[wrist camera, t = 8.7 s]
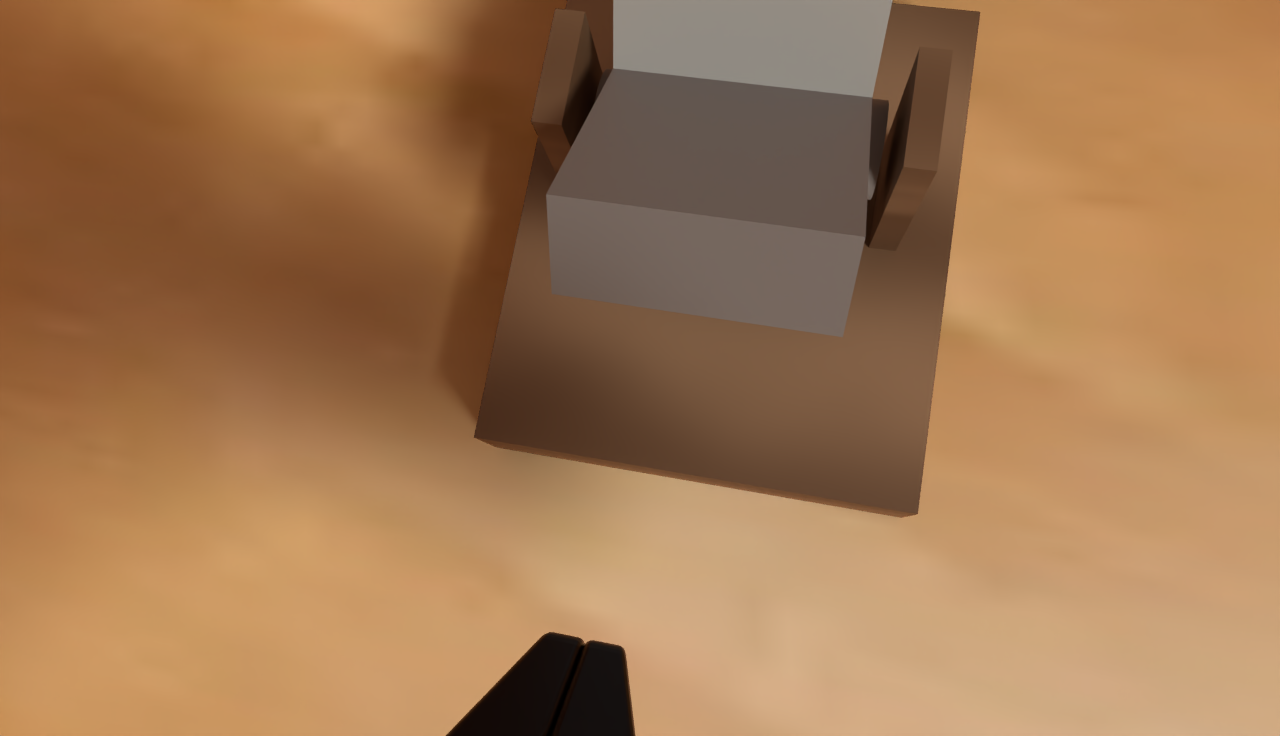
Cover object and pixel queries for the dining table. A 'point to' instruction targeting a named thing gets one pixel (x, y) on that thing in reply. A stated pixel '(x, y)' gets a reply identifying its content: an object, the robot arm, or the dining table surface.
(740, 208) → the lever
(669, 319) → the base
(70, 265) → the dining table surface
